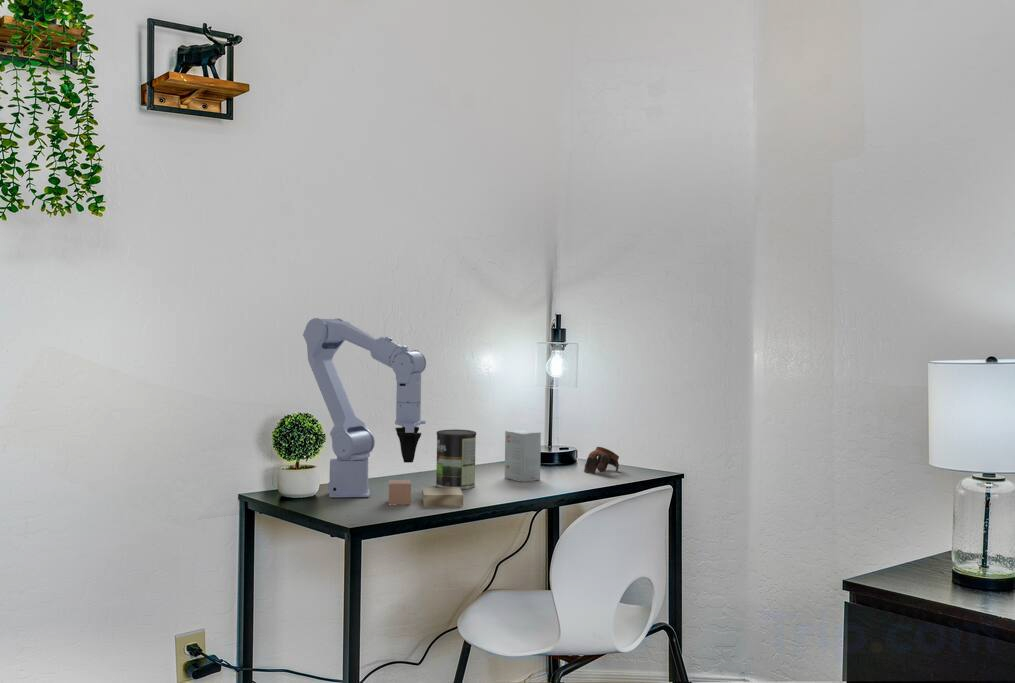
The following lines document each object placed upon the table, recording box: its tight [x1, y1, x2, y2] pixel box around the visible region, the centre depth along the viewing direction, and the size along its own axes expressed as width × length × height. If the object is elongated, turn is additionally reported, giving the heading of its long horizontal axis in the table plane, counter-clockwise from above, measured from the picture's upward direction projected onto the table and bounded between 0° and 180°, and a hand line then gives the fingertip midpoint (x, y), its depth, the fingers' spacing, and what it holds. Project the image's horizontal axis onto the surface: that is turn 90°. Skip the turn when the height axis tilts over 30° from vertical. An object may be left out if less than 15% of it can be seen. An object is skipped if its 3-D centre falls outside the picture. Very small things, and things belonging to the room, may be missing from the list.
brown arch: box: [583, 446, 620, 475], centre depth 249 cm, size 12×10×8 cm
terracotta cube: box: [388, 479, 412, 506], centre depth 203 cm, size 5×5×5 cm
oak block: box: [421, 487, 464, 507], centre depth 204 cm, size 9×9×3 cm
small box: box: [504, 429, 542, 483], centre depth 236 cm, size 8×6×13 cm
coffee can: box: [435, 428, 477, 490], centre depth 225 cm, size 10×10×14 cm
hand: (407, 459), depth 204 cm, fingers open, 7 cm apart
